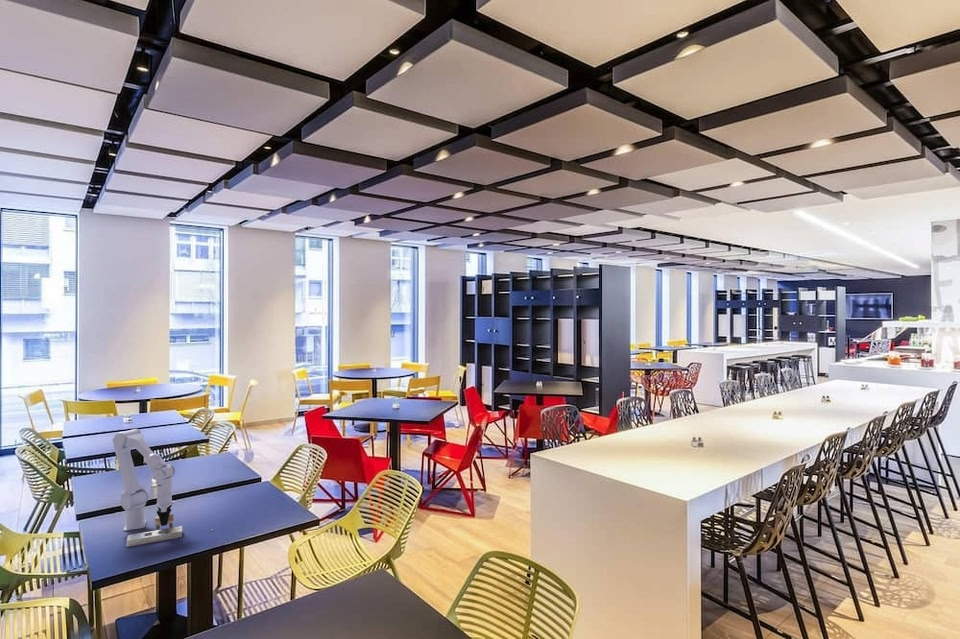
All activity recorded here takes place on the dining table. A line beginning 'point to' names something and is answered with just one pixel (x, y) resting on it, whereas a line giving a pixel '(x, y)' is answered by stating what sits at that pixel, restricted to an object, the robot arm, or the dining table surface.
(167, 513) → the robot arm
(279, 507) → the dining table surface
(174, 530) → the grey plate with holes
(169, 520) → the clip
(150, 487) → the dining table surface
